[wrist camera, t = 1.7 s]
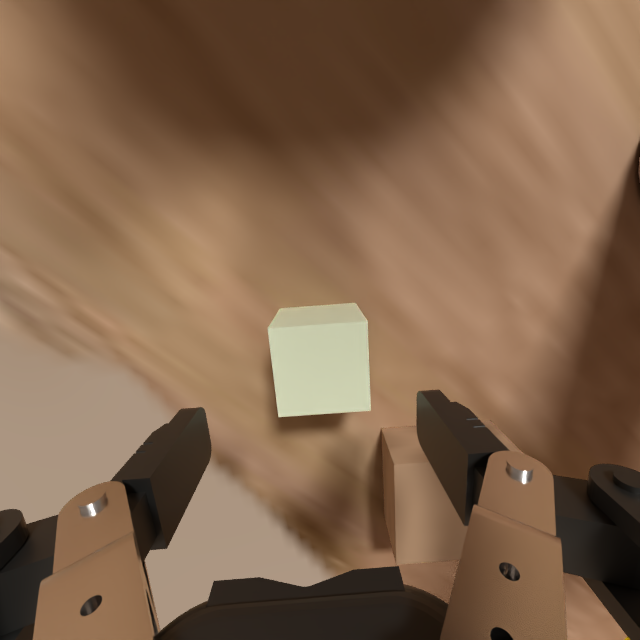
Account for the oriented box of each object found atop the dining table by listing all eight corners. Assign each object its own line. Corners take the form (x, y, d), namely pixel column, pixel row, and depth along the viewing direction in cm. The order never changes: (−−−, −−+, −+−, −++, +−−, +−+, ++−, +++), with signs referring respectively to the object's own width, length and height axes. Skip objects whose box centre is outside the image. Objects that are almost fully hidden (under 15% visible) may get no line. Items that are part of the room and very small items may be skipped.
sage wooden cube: (355, 302, 20) (367, 321, 15) (358, 372, 21) (370, 410, 16) (280, 308, 20) (267, 328, 15) (287, 377, 21) (278, 417, 16)
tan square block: (488, 418, 22) (525, 455, 18) (482, 506, 24) (514, 556, 20) (380, 426, 22) (394, 464, 18) (383, 513, 24) (396, 564, 20)
